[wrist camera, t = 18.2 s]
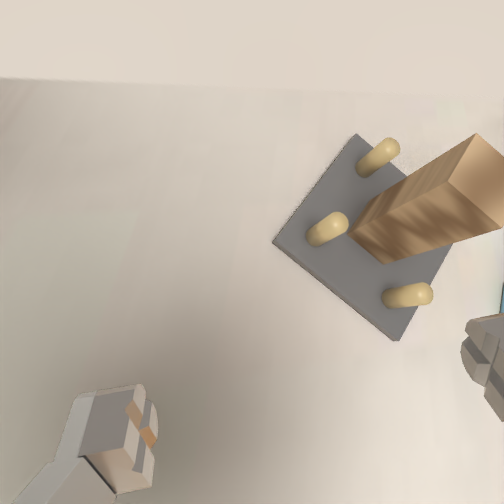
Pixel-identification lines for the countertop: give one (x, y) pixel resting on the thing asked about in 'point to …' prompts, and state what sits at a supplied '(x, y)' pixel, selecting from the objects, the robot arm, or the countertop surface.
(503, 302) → the gum box
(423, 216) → the brown wooden block
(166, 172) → the countertop surface
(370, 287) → the peg board
